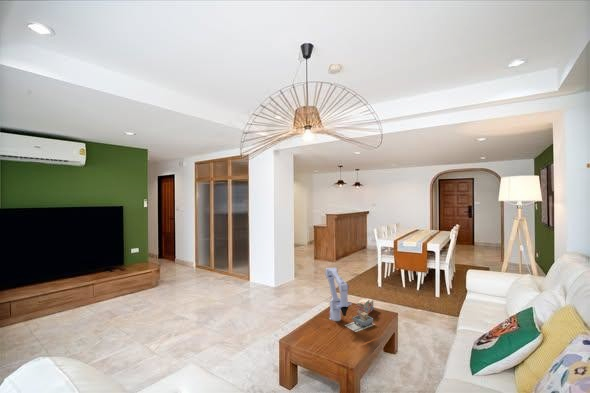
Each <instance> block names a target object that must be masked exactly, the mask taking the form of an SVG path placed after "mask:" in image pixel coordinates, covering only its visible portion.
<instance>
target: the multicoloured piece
mask: <svg viewBox="0 0 590 393" xmlns="http://www.w3.org/2000/svg"><path fill="white" fill-rule="evenodd" d="M356 306H357V308H356V310H357V314H356V316H358V315H360V313H363V312H364V313H366V314H368V315H369V314H370V313H371V312H372V311H373V310H374V299H371V298H365V297H364V298H362V299H360V300H359V301H357V305H356Z"/></svg>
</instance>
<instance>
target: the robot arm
mask: <svg viewBox="0 0 590 393" xmlns="http://www.w3.org/2000/svg"><path fill="white" fill-rule="evenodd" d="M324 274H325V279H327V280H328V286H329V290H330V295H331V299H330V300H329V309H330V310H329V318H328V320H331V321H334V322H340V321H341V319H342V316H344V317H346V315H347V311H348V310H349V306H352V304H353V303H352V302H351V301H349V300H348V299H349V298H348V296H349V294H348V291H349V290H350V289H349V288H350V287H349V284H348V283H347V282H345V280H344V279H343V278H342V277H341V276H339V273H338V268H337V267H336V266H335V267H326V268H325V270H324ZM335 283H336V284H337V286H338V290H339V296H340V297H338V293H337V288H336V284H335ZM341 314H342V315H341Z"/></svg>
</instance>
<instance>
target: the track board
mask: <svg viewBox="0 0 590 393" xmlns="http://www.w3.org/2000/svg"><path fill="white" fill-rule="evenodd" d="M344 326H345V327H347V328H348V329H350V330H352V331H353V332H355V333H356V332H360V331H362V330H365V329H367V328H368V329H369V328H370V327H373V326H376V323H374V322H372V324H370V323H369V324H366V325H364V327H362V325H360V324H358V323H357V322H356V323H354V321H353V322H350V323H347V324H344Z"/></svg>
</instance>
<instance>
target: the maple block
mask: <svg viewBox="0 0 590 393" xmlns="http://www.w3.org/2000/svg"><path fill="white" fill-rule="evenodd" d="M368 316H369V314H366V313H364V312H363V313H360V320H362V321H366V320H368Z"/></svg>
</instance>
